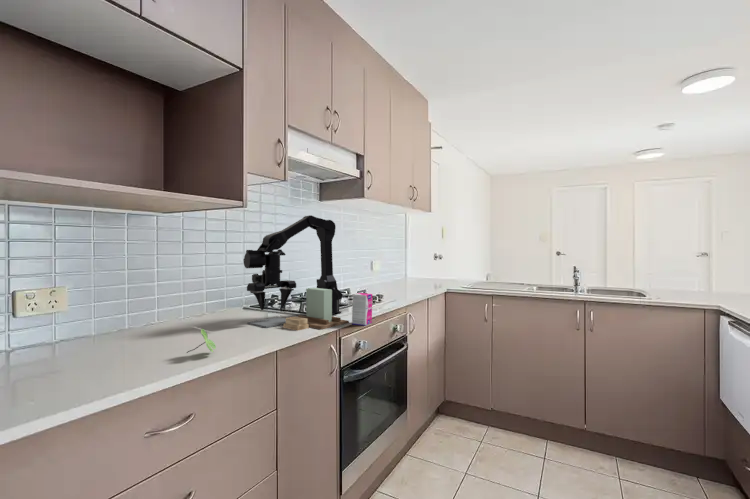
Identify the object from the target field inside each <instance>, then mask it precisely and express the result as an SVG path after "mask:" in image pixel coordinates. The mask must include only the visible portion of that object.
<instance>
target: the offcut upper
mask: <svg viewBox="0 0 750 499" xmlns="http://www.w3.org/2000/svg"><path fill="white" fill-rule="evenodd" d="M307 322H308V319H306V318H301V317H298V316H291V317H286V324H290V325H296V326H302V325H307Z"/></svg>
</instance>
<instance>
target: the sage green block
mask: <svg viewBox="0 0 750 499" xmlns="http://www.w3.org/2000/svg"><path fill="white" fill-rule="evenodd" d="M305 291H306V292H305V294H306V296H305V297H306V298H305V300H306V303H305V305H306V306H305V307H306V308H305V310H306V313H305V316H308V317H314V318H320V319H325V320H329V322H332V316H333V314H332V290H331V289H321V288H317V287H310V288H309V287H307V288H306V289H305Z"/></svg>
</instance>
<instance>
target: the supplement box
mask: <svg viewBox="0 0 750 499" xmlns="http://www.w3.org/2000/svg"><path fill="white" fill-rule="evenodd" d="M351 304H352V308H351V314H352V315H351V325H354V326H360V327H361V326H364V327H366V326H367V325H370V324H372V323H373V322H372V320H373V293H364V292H358V293H353V294H352V303H351Z"/></svg>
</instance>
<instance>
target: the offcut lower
mask: <svg viewBox="0 0 750 499" xmlns="http://www.w3.org/2000/svg"><path fill="white" fill-rule="evenodd" d="M282 326H283V327H282V328H284V329H287V330H288V329H289V330H293V331H297V332H298V331H302V330H307V329H309V328H310V327H309V324H307V325H302V326H296V325H290V324H286V323H284V324H283V325H282Z"/></svg>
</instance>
